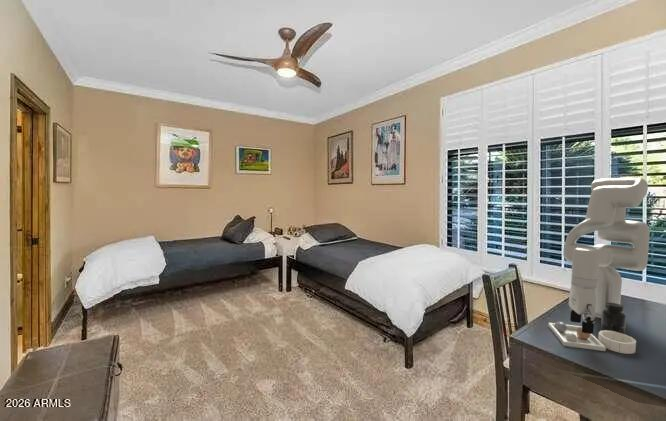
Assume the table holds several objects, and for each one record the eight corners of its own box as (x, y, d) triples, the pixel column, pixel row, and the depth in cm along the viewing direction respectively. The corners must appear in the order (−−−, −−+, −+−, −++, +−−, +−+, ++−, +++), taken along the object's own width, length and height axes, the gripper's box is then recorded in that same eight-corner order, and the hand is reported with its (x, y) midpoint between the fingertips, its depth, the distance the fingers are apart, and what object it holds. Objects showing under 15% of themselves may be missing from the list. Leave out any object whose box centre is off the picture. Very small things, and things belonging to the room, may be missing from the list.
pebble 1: (554, 329, 121) (554, 320, 121) (564, 330, 120) (565, 321, 120) (557, 333, 118) (557, 324, 117) (568, 334, 117) (569, 325, 116)
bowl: (593, 339, 114) (593, 328, 114) (625, 343, 111) (625, 332, 111) (606, 352, 105) (607, 341, 105) (642, 357, 102) (642, 345, 102)
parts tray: (548, 327, 124) (548, 322, 124) (584, 331, 120) (584, 326, 120) (564, 347, 109) (564, 341, 108) (605, 352, 105) (605, 347, 105)
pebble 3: (580, 340, 112) (580, 330, 112) (575, 335, 116) (576, 326, 115) (591, 341, 111) (592, 332, 111) (587, 337, 114) (587, 327, 114)
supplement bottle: (627, 341, 112) (629, 309, 111) (602, 336, 116) (604, 305, 115) (622, 333, 118) (624, 303, 117) (598, 329, 122) (600, 300, 121)
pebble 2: (563, 339, 113) (564, 330, 112) (574, 341, 112) (575, 332, 111) (567, 344, 110) (567, 335, 109) (578, 345, 108) (579, 336, 108)
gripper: (562, 274, 121) (560, 316, 122) (582, 287, 105) (579, 336, 106) (585, 276, 119) (582, 319, 120) (609, 290, 102) (606, 339, 103)
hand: (581, 327), depth 113 cm, fingers open, 9 cm apart
